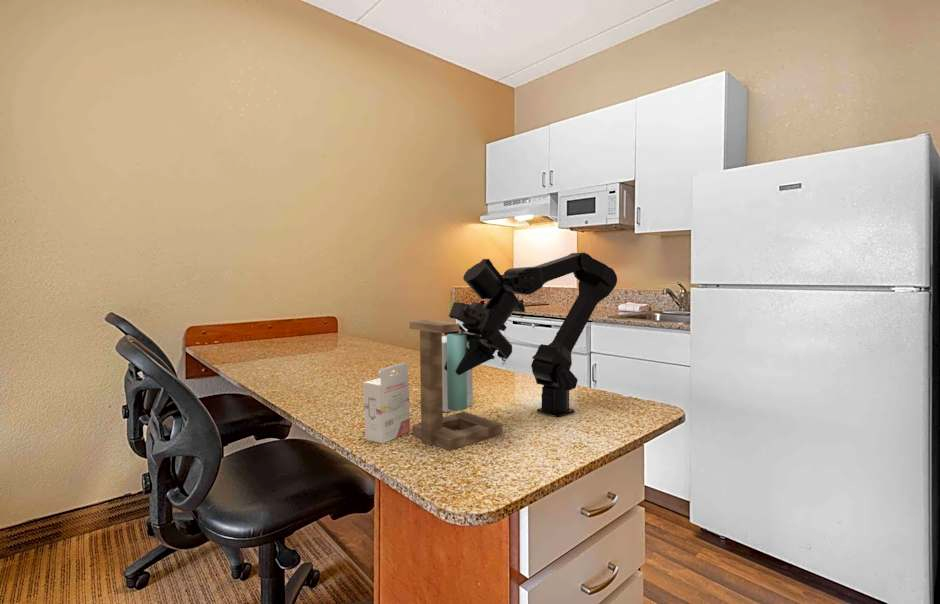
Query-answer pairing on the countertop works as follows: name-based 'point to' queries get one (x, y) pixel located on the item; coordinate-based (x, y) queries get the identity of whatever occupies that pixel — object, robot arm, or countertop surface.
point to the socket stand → (432, 421)
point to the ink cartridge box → (387, 405)
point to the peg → (455, 381)
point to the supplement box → (444, 379)
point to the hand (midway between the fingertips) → (451, 371)
